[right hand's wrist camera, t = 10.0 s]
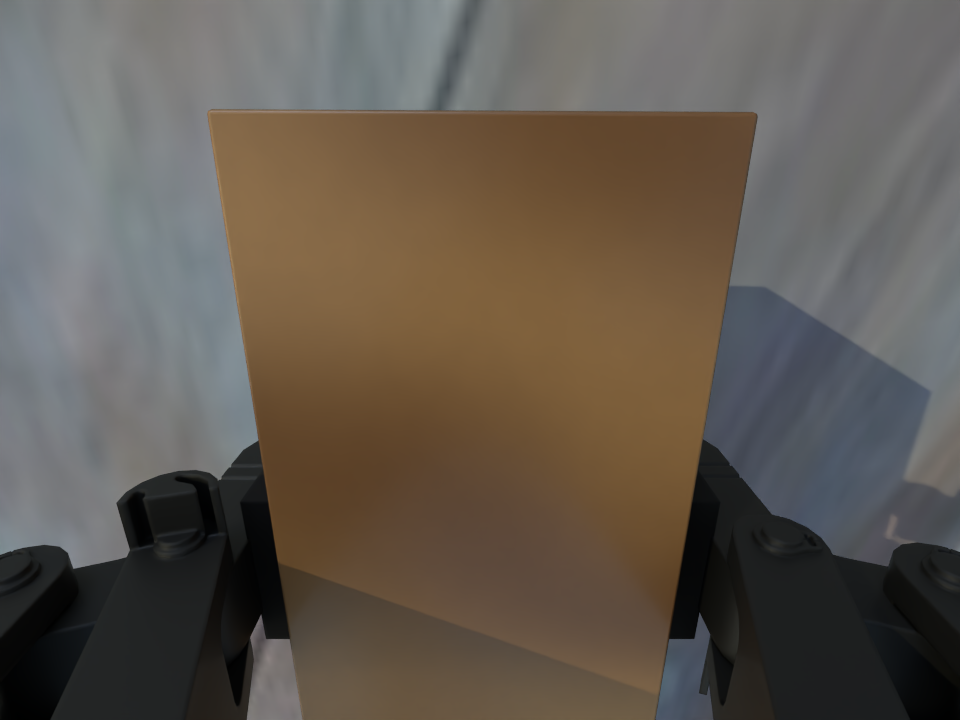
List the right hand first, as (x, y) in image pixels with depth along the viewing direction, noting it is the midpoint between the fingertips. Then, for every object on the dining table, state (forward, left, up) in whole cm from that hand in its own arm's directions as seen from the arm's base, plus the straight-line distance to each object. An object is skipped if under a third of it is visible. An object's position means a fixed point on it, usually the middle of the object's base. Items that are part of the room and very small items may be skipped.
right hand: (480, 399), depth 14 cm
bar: (+2, +20, -1) cm, 20 cm away
